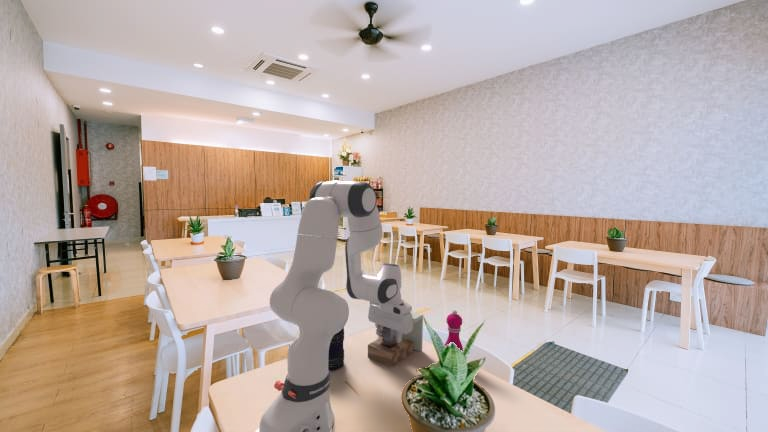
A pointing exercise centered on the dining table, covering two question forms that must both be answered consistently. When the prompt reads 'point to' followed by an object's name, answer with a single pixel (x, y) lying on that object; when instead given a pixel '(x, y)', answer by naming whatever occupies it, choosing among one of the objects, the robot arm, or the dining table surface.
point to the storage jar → (336, 351)
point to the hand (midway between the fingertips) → (389, 337)
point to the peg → (388, 337)
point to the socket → (390, 351)
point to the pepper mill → (454, 329)
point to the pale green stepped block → (415, 331)
